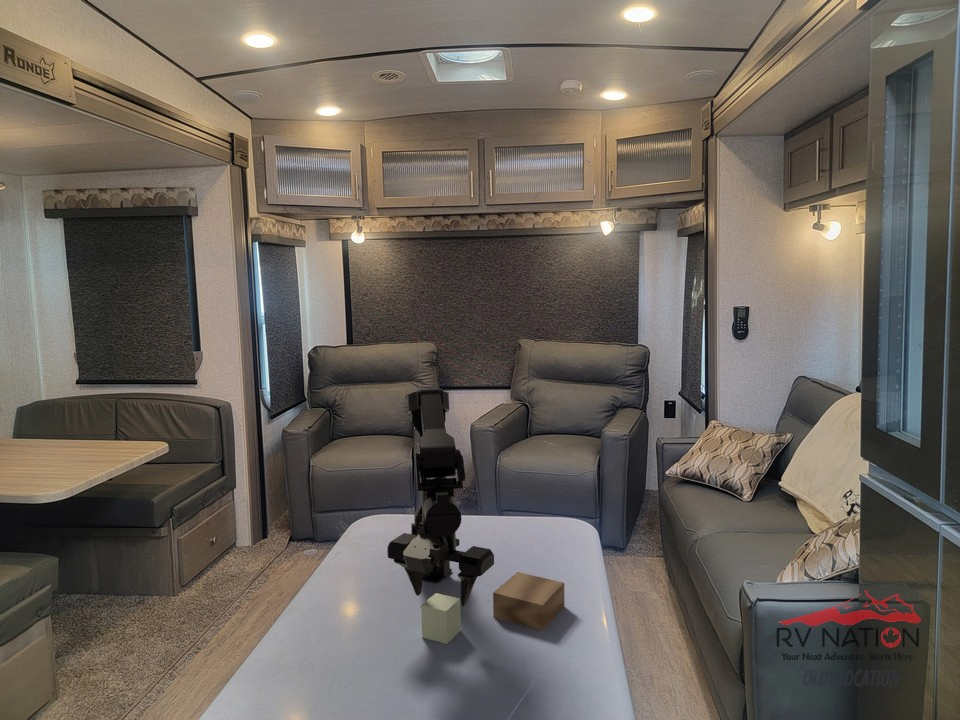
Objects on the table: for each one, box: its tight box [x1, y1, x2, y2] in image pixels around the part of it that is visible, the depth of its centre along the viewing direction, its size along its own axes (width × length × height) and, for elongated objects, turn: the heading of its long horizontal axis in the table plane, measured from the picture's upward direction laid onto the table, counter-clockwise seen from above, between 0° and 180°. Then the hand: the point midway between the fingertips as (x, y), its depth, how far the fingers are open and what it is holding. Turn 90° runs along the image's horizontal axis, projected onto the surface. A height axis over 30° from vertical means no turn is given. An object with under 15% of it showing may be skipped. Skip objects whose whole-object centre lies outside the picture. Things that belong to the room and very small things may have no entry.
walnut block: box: [492, 571, 565, 631], centre depth 124 cm, size 10×10×5 cm
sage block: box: [420, 593, 462, 645], centre depth 116 cm, size 5×5×6 cm
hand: (440, 599), depth 116 cm, fingers open, 9 cm apart
